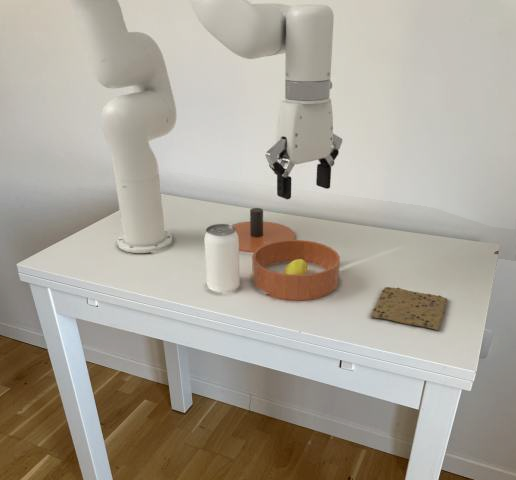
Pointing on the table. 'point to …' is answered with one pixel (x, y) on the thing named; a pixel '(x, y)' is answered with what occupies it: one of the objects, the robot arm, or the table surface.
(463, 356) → the table surface
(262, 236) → the lid
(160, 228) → the robot arm
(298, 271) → the lemon
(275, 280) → the pot
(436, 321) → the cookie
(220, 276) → the can
